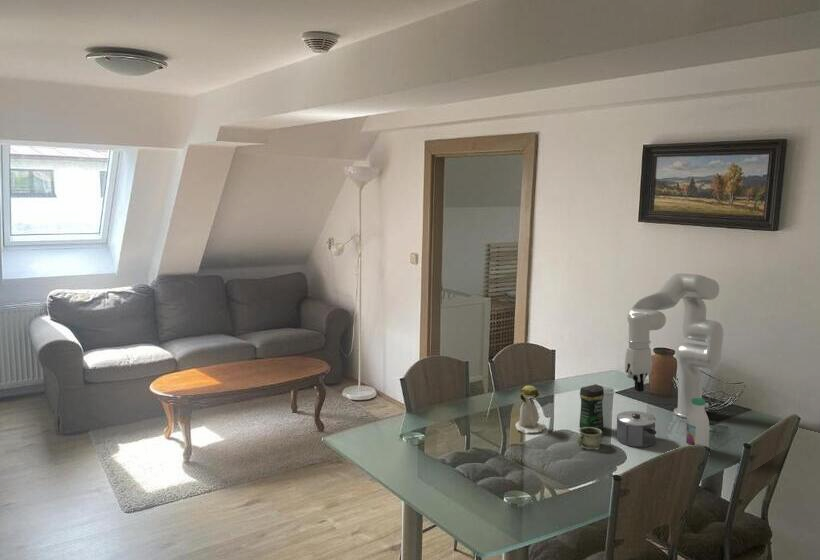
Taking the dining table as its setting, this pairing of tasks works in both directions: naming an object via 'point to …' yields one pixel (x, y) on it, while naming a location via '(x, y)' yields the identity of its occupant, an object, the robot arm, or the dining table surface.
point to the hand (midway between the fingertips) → (639, 390)
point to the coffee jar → (591, 406)
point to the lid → (636, 418)
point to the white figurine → (529, 411)
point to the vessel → (590, 437)
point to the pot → (636, 435)
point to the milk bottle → (697, 424)
